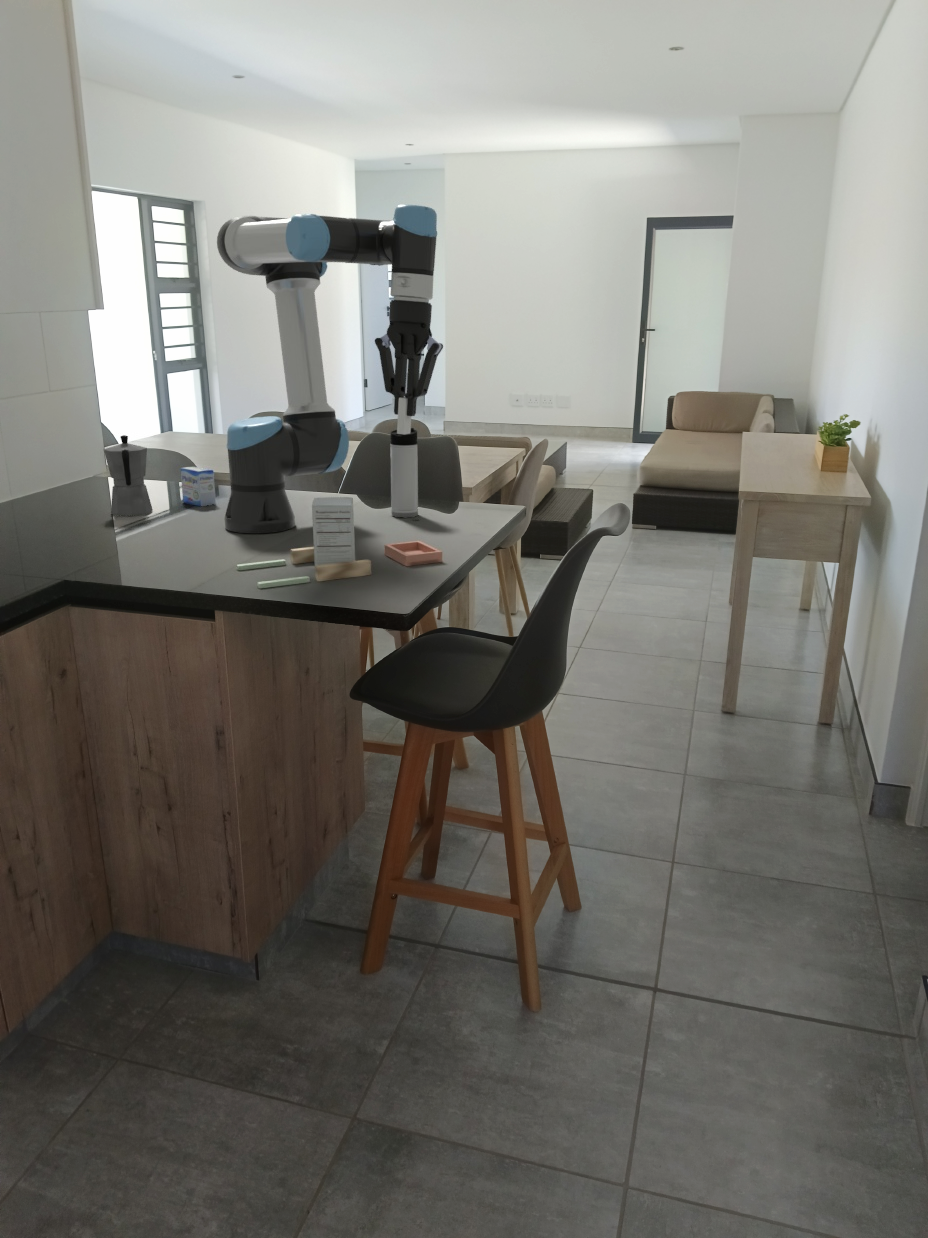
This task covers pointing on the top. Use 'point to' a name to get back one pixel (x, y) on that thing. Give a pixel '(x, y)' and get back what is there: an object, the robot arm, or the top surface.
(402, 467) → the travel mug
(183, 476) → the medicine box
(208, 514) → the top surface
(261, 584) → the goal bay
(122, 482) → the coffeepot
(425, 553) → the pit tray
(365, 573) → the channel
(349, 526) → the supplement box
